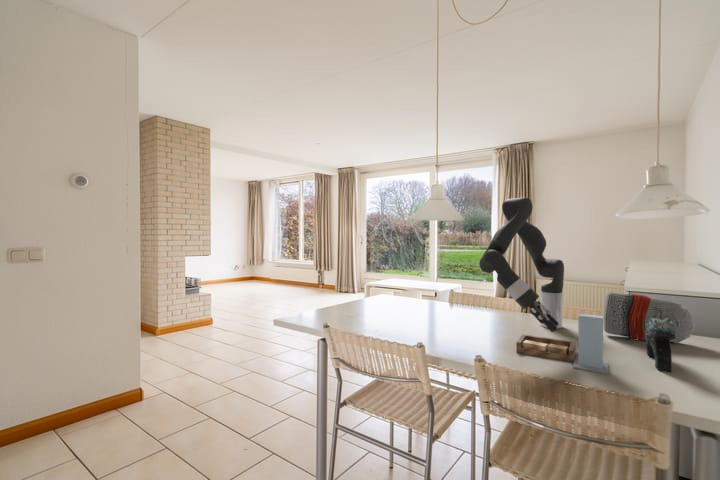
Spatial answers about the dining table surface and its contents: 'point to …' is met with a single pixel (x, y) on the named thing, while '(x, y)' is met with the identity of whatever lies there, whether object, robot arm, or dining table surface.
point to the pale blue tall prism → (590, 340)
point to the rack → (569, 344)
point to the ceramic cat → (660, 341)
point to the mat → (589, 368)
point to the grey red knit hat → (644, 315)
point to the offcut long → (535, 345)
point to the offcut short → (558, 349)
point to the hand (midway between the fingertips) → (555, 327)
